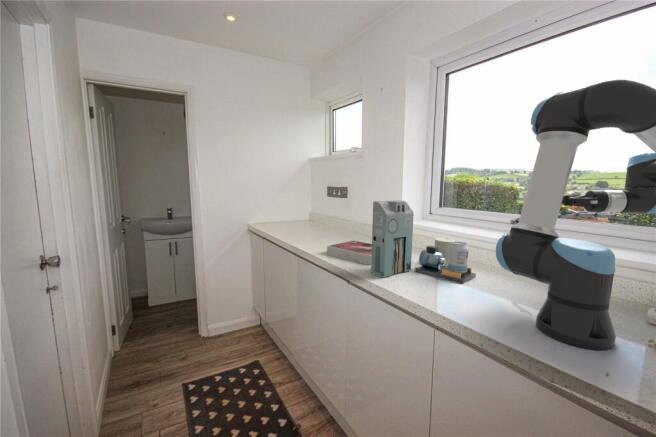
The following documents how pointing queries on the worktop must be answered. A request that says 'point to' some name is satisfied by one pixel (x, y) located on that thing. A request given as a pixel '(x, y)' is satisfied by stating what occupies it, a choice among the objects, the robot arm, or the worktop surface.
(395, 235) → the device
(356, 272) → the worktop surface
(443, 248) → the can
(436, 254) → the motor
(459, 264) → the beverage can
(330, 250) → the product packaging
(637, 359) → the worktop surface
